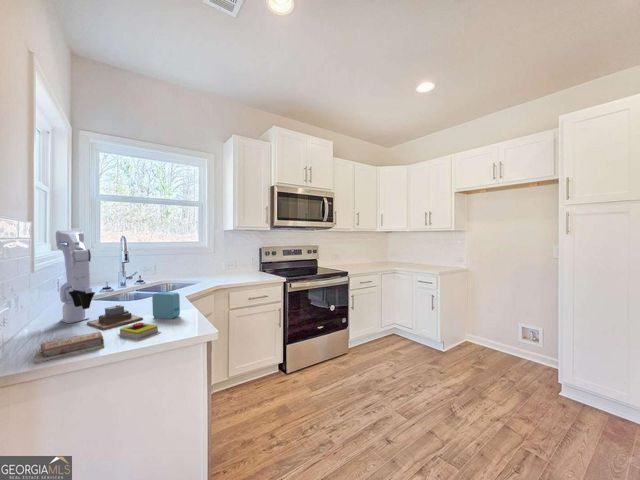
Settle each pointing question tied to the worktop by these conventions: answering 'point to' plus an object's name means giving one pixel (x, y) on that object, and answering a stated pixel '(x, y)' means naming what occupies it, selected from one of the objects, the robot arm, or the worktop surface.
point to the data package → (166, 305)
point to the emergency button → (139, 331)
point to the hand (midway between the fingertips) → (82, 307)
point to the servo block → (114, 311)
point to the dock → (114, 321)
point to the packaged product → (69, 346)
